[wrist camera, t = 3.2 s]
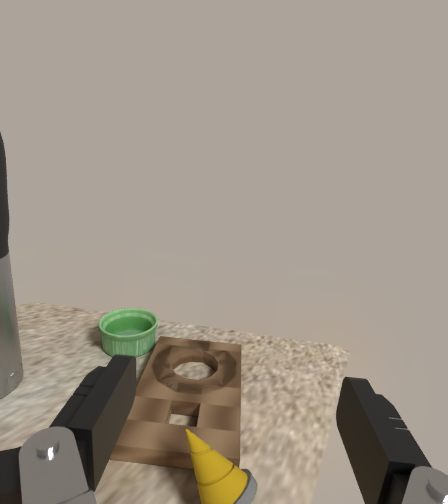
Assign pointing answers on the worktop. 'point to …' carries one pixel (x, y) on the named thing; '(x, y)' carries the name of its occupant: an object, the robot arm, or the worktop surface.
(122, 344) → the ramekin
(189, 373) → the worktop surface
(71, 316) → the worktop surface
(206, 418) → the socket board
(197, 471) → the drill bit
